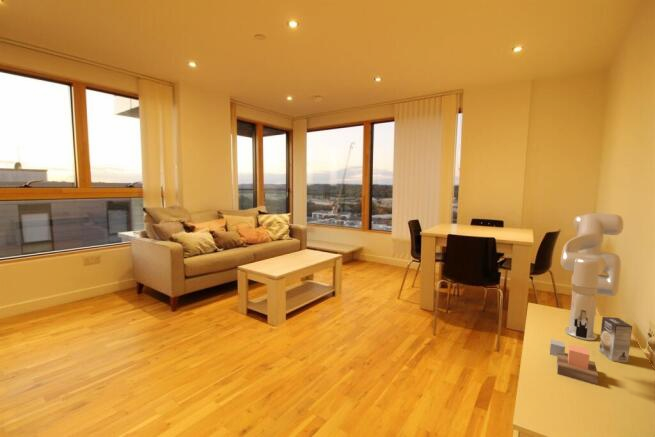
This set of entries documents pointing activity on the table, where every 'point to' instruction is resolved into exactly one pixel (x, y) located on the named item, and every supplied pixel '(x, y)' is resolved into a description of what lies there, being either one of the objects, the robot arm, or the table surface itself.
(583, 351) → the terracotta cube
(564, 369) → the walnut block
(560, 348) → the grey cube
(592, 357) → the table surface
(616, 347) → the coffee box
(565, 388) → the table surface
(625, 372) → the table surface
